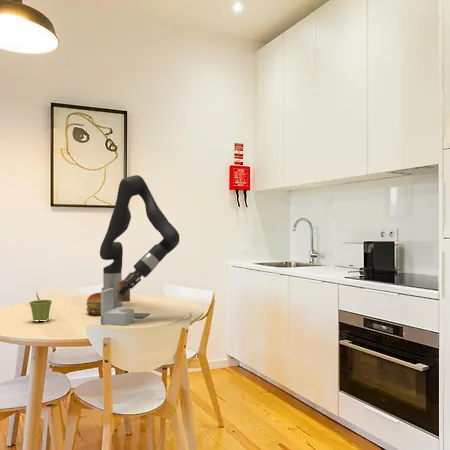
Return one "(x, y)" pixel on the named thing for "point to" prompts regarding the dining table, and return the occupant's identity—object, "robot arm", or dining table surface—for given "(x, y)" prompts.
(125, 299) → the walnut block
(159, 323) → the dining table surface
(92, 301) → the burger
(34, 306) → the plant pot
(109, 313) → the ledge
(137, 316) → the mat
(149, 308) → the dining table surface
